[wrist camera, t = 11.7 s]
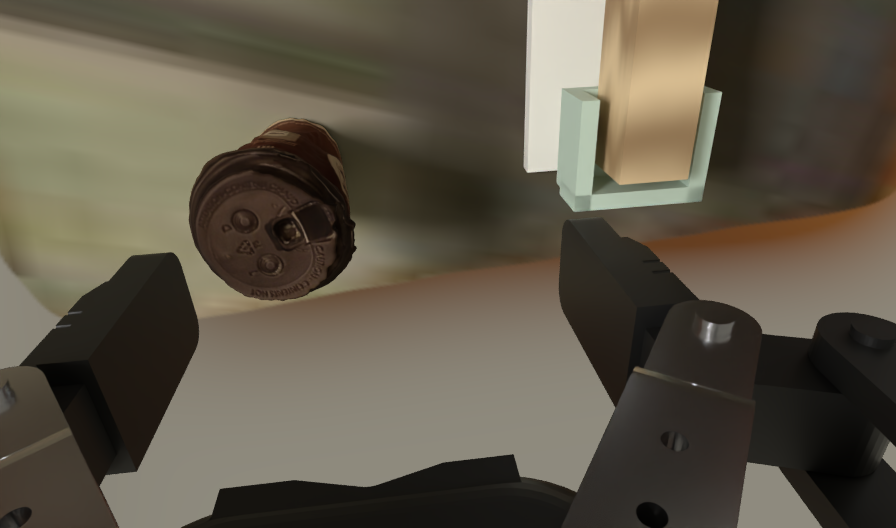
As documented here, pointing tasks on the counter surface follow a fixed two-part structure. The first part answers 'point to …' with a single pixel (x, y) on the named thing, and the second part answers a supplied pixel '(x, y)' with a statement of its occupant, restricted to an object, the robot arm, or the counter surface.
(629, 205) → the bracket stand
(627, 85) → the tan rectangular bar
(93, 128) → the counter surface
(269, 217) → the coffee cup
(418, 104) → the counter surface
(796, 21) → the counter surface
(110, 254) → the counter surface
